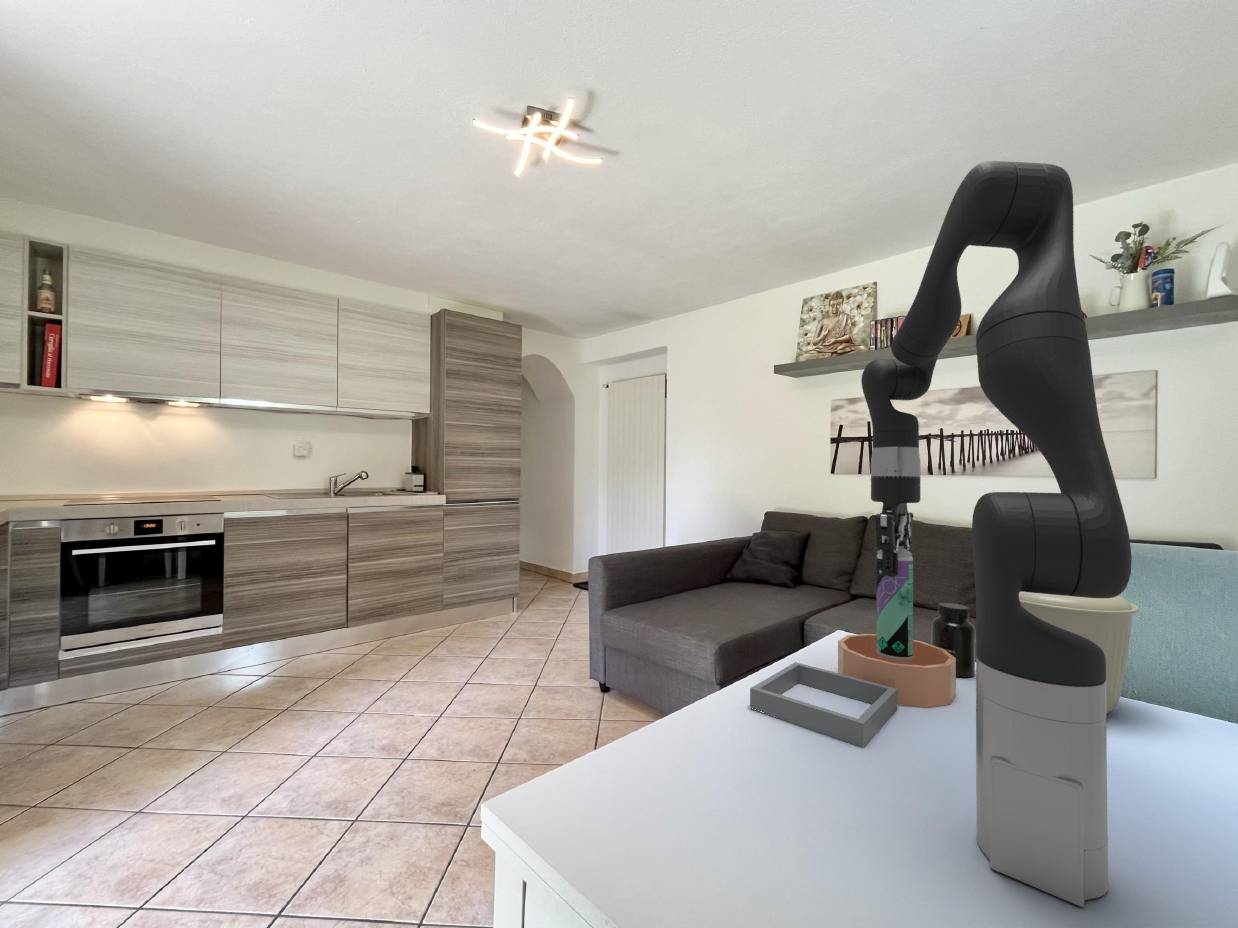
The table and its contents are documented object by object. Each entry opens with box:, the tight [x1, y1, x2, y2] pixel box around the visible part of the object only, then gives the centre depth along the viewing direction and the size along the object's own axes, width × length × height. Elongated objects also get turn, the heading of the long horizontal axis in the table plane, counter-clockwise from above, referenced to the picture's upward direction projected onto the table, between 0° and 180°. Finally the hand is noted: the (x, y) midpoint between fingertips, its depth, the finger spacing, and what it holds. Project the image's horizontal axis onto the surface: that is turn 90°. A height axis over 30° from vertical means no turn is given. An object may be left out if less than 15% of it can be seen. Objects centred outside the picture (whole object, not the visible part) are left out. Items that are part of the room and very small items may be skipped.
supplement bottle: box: [930, 602, 976, 679], centre depth 95 cm, size 7×7×12 cm
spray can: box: [875, 540, 914, 662], centre depth 88 cm, size 6×6×20 cm
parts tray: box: [749, 661, 898, 748], centre depth 77 cm, size 16×16×3 cm
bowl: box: [837, 633, 957, 709], centre depth 87 cm, size 17×17×6 cm
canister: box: [1019, 592, 1140, 714], centre depth 82 cm, size 18×18×21 cm
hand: (895, 573), depth 88 cm, fingers closed on spray can, 5 cm apart
